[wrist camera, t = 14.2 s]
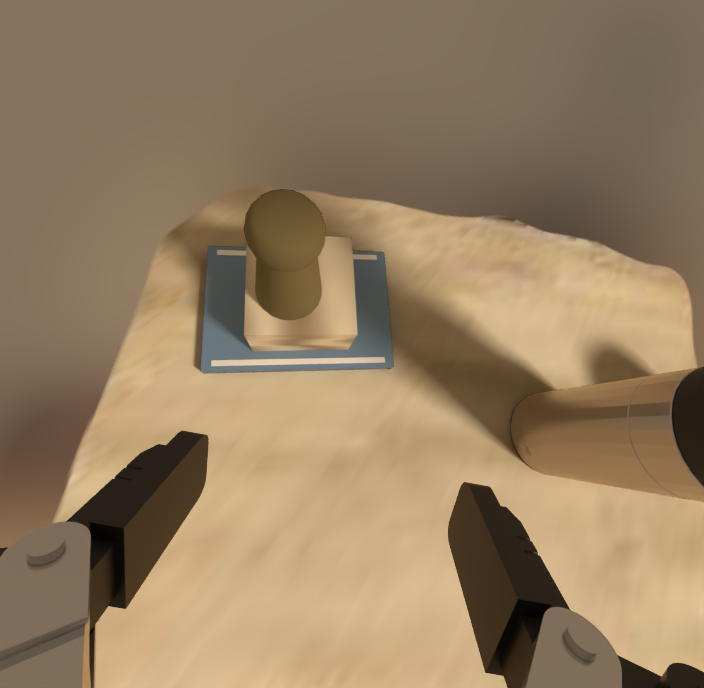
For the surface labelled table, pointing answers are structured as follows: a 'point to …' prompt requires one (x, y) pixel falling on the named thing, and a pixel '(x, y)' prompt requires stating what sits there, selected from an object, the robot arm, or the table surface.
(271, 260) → the cork
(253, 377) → the table surface
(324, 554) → the table surface
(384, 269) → the board
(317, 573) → the table surface
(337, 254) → the maple pedestal
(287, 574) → the table surface
